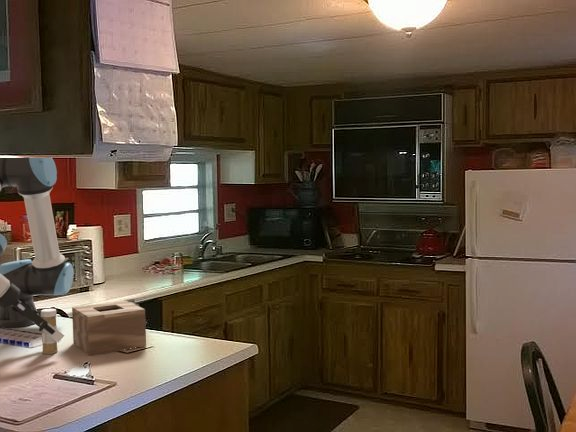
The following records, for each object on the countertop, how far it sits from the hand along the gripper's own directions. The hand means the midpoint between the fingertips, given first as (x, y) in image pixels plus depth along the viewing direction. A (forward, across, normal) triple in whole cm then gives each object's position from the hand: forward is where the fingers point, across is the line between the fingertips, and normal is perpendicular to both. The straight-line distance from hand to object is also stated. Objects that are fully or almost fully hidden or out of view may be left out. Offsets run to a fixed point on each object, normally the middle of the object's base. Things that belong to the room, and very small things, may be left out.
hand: (55, 334), depth 213 cm
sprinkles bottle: (+3, 0, -5) cm, 6 cm away
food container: (+24, -14, +16) cm, 32 cm away
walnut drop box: (+15, +2, +8) cm, 17 cm away
